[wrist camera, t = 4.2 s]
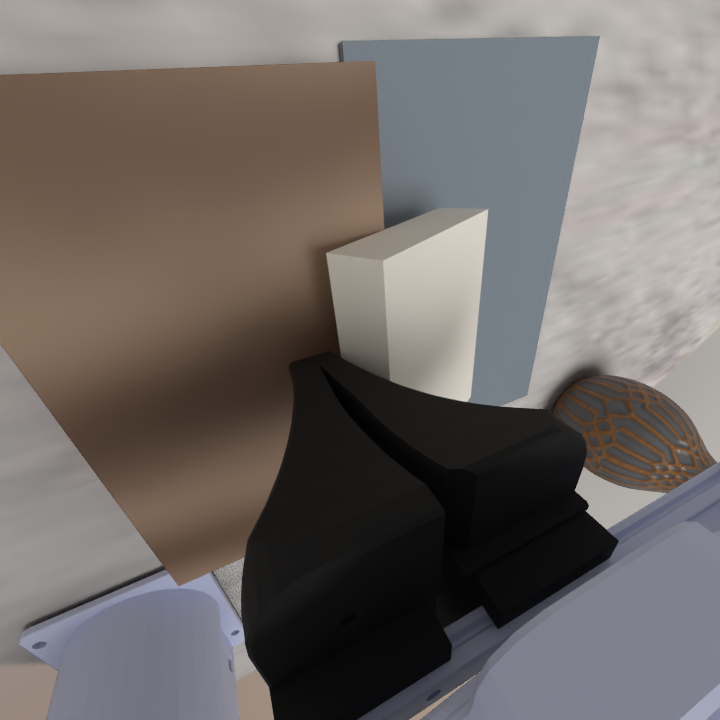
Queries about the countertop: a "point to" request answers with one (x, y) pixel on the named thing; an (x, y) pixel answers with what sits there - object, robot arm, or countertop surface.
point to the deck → (181, 273)
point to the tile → (413, 300)
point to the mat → (486, 167)
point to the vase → (633, 433)
